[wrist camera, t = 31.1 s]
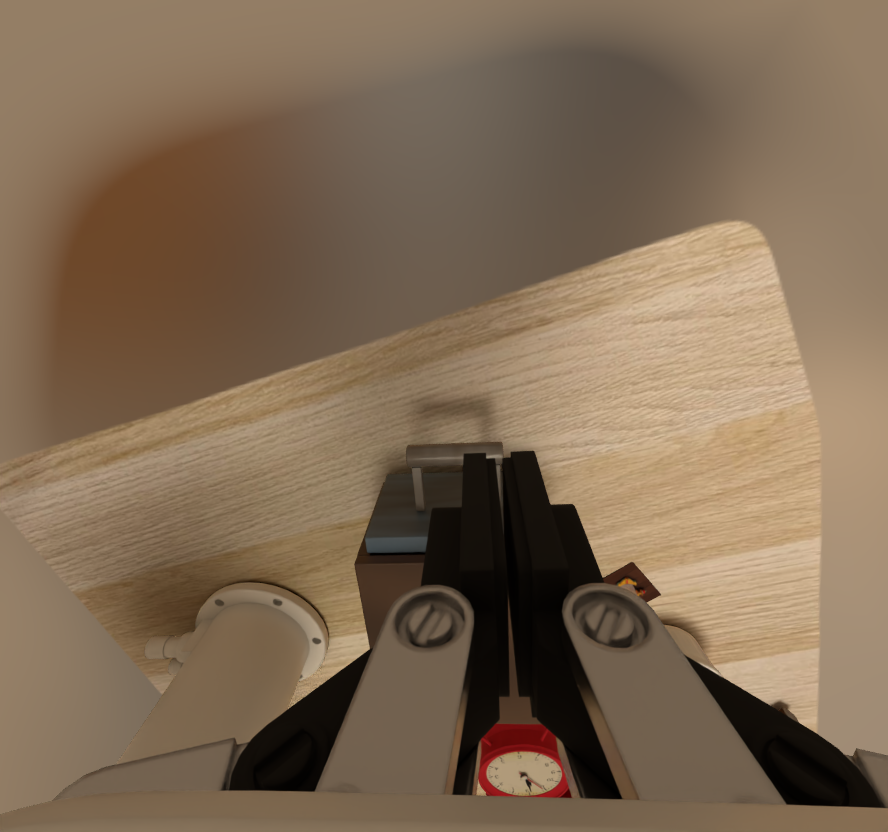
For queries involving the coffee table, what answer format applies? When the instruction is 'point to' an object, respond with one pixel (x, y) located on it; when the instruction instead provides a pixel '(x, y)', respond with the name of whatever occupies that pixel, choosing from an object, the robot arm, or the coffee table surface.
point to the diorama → (633, 582)
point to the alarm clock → (521, 762)
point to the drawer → (422, 496)
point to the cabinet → (398, 575)
